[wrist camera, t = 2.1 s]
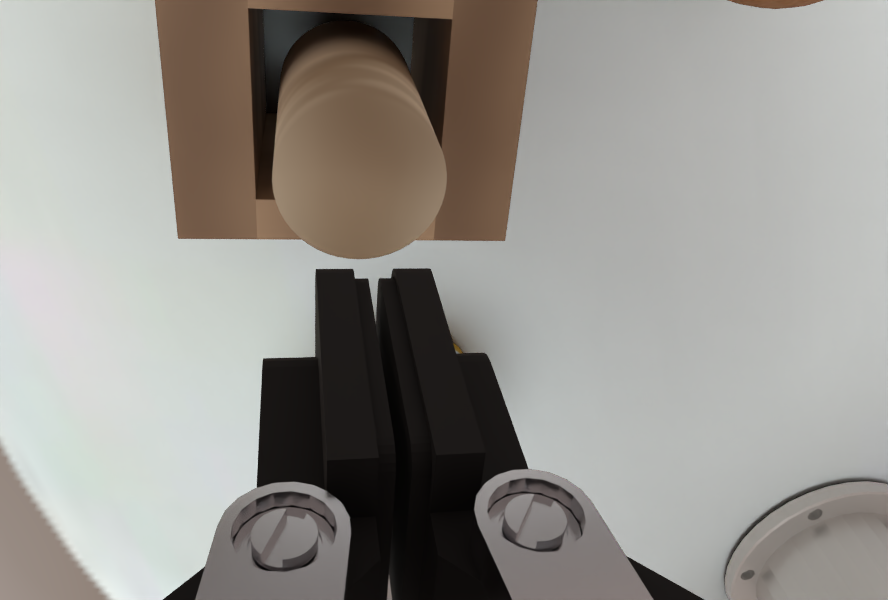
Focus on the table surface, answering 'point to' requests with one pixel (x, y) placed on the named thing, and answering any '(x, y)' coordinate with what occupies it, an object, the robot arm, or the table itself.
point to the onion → (775, 3)
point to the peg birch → (354, 144)
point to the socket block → (253, 130)
